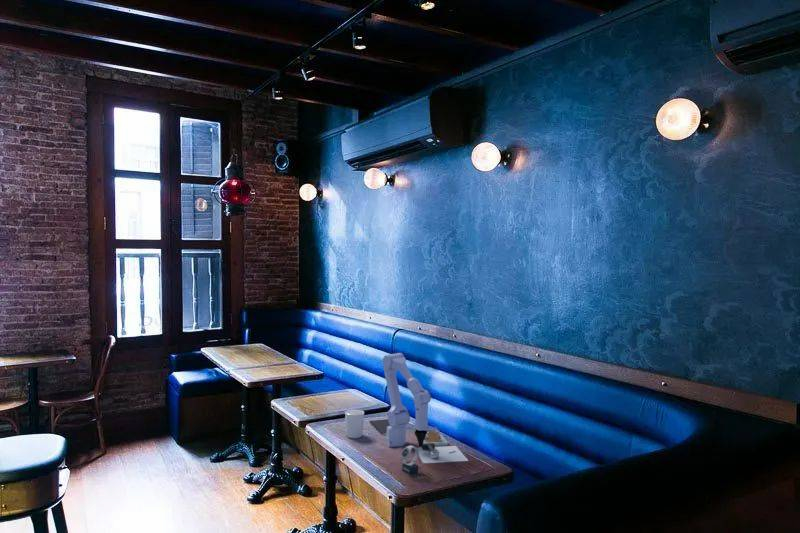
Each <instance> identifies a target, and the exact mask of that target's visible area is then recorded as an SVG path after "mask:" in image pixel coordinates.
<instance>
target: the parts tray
mask: <svg viewBox="0 0 800 533" xmlns="http://www.w3.org/2000/svg"><path fill="white" fill-rule="evenodd" d="M425 439H427V440H428V434H426V436H425ZM425 439H424V442H423V444H428V443H434V444H435V447H441V446H449V442H448V440H447V439H445V437H444V436H443V435H442V433H441V434H440V433H439V440H441V441H439V442H426V440H425Z"/></svg>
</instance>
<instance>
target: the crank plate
mask: <svg viewBox="0 0 800 533" xmlns="http://www.w3.org/2000/svg"><path fill="white" fill-rule="evenodd" d="M416 448H417V449H418V451H419V457H418V458H419V459H420V460H421V462H422V463H423V464H436V463H438V464H439V463H452V462H453V463H454V462H455V463H456V462H469V459H468V457H466V456H465V455H464V454H463V452H462V451H461V450H460V449H459V448H458V447H457V445H445V446H435V449H434V450H436V451H439V458H438V459H432V458H430V453H429V451H428V450H427V449H422V447H416ZM413 450H415V448H413Z"/></svg>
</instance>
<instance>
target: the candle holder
mask: <svg viewBox="0 0 800 533" xmlns="http://www.w3.org/2000/svg"><path fill="white" fill-rule="evenodd" d="M344 415H345V416H344V418H345V419H344V420H345V422H344V423H345V436H346V438H350V439H359V438H362V437H363V430H364V422H365V421H364V417H365V411H363V410H361V409H356V408H354V409H347V410H346V411H344Z"/></svg>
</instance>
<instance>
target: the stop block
mask: <svg viewBox="0 0 800 533" xmlns="http://www.w3.org/2000/svg"><path fill="white" fill-rule="evenodd" d="M439 434H440V430H439V429H437V432H436V433H434V432H427V435H428V438H427V443H429V442H440V438H439Z"/></svg>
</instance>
